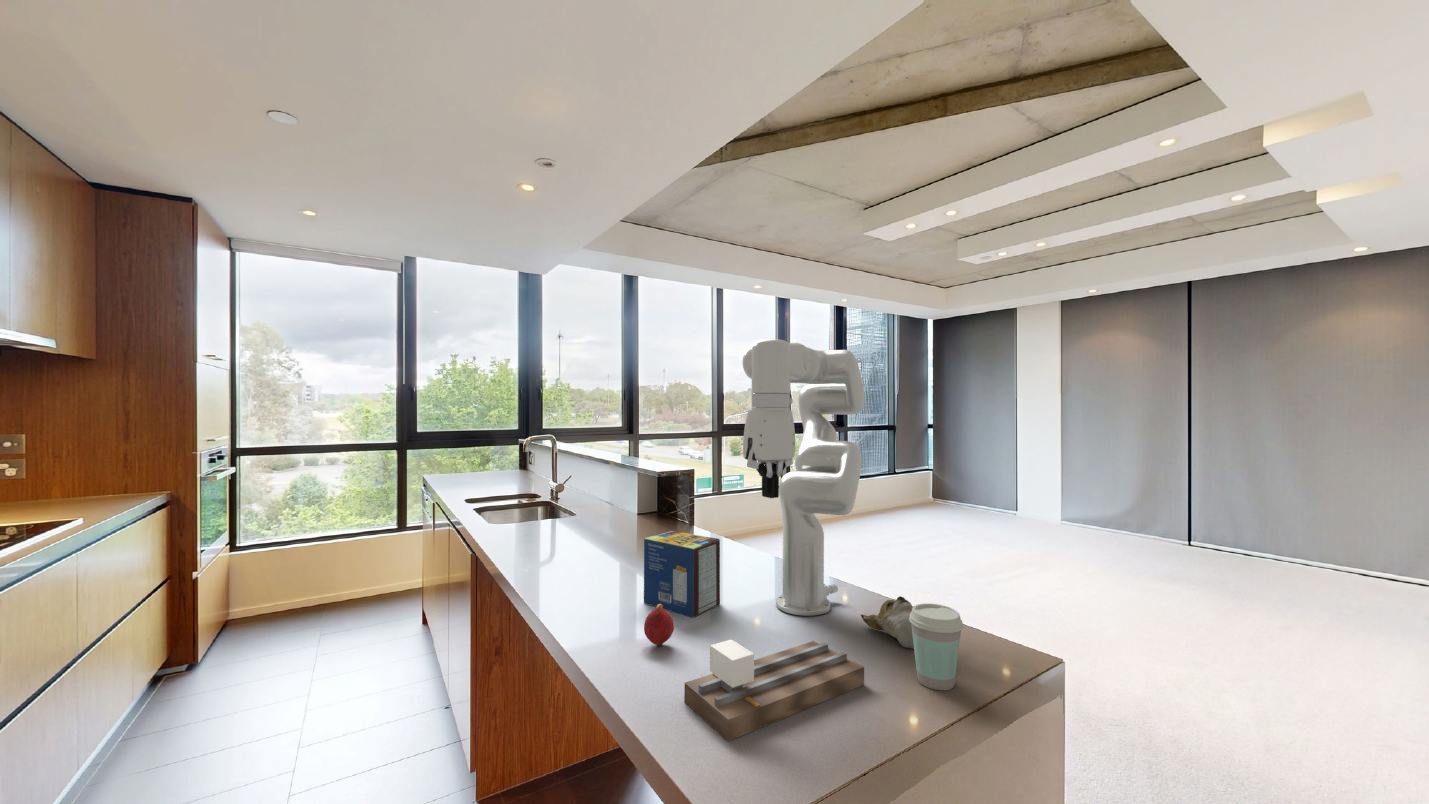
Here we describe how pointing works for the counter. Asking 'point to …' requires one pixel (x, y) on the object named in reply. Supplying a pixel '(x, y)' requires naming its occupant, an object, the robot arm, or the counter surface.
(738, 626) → the counter surface
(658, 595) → the protein box
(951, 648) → the coffee cup
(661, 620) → the onion
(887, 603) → the ceramic sculpture
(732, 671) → the white block
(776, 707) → the linear slide rail
